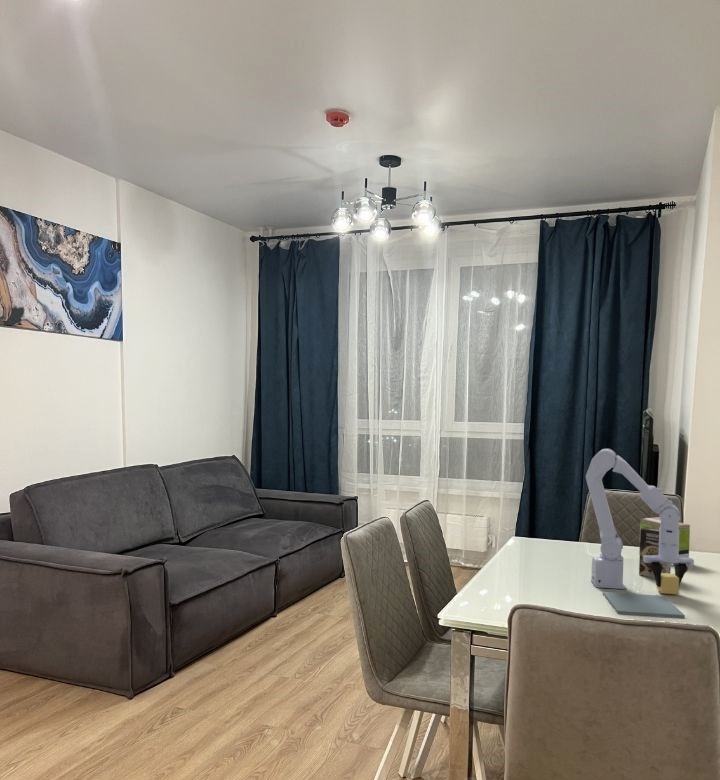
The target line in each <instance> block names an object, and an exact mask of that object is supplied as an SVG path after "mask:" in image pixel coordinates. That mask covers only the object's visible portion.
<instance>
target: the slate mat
mask: <svg viewBox="0 0 720 780" xmlns="http://www.w3.org/2000/svg"><path fill="white" fill-rule="evenodd" d="M602 596H603V597H604V596H605V597H604V598H605V599H606V601H607V600H608V601H607V602H608V603H609V604H610V606H611V605H612V606H611V607H612V608H613V609H615V610H614V611H615V612H616V613H617V615H618V614H619V615H633V616H646V617H647V616H649V617H662V618H664V617H665V618H675V619H679V618H680V619H685V618H686V616H685V614H684V612H682V611H681V610H680V609H679V608H678V607H677V606H675V604H673V603H672V602H671V601H670V600H669V599H668V598H667V597H666V596H665V595H660V594H659V595H658V594H657V595H656V594H643V593H641V594H640V593H626V592H625V593H624V592H612V591H611V592H610V591H609V592H608V591H603V592H602Z"/></svg>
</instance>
